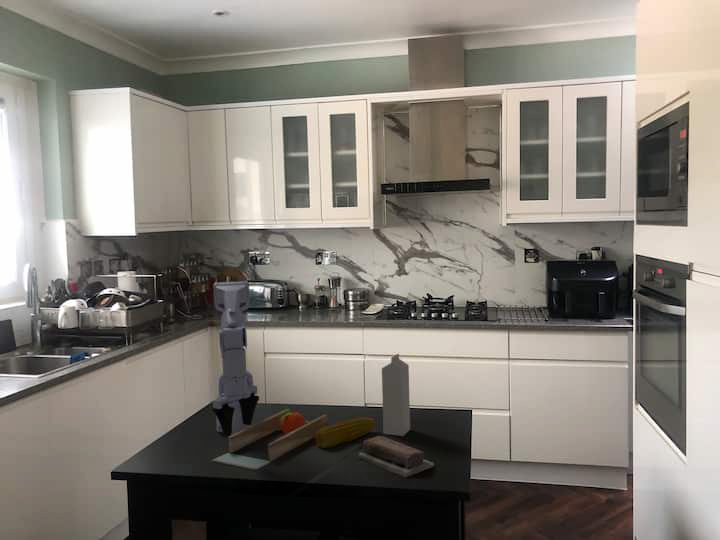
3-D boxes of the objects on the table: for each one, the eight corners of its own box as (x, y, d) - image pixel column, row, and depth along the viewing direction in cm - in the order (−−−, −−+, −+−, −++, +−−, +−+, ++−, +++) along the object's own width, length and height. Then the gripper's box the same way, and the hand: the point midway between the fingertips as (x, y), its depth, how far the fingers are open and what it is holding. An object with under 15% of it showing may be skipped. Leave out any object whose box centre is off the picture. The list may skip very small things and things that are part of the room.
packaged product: (355, 440, 164) (384, 431, 170) (356, 459, 164) (384, 449, 171) (405, 459, 150) (434, 448, 157) (406, 479, 151) (435, 468, 157)
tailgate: (227, 456, 168) (210, 463, 162) (227, 452, 168) (210, 460, 162) (271, 464, 161) (255, 473, 155) (271, 461, 161) (254, 469, 155)
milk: (410, 429, 184) (409, 353, 182) (403, 436, 179) (402, 358, 177) (390, 427, 187) (388, 352, 185) (382, 434, 181) (381, 356, 179)
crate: (228, 455, 168) (227, 436, 168) (287, 425, 191) (287, 408, 191) (272, 464, 161) (271, 444, 161) (327, 431, 184) (327, 414, 184)
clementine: (284, 443, 176) (283, 418, 175) (273, 436, 182) (272, 412, 181) (310, 437, 180) (309, 412, 180) (299, 430, 186) (298, 406, 185)
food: (327, 454, 168) (326, 432, 167) (312, 449, 171) (311, 427, 171) (380, 432, 183) (379, 412, 183) (365, 428, 187) (364, 408, 186)
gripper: (227, 384, 151) (230, 440, 152) (265, 370, 163) (268, 422, 165) (205, 381, 154) (208, 436, 155) (244, 367, 167) (246, 419, 168)
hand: (237, 429), depth 160 cm, fingers open, 7 cm apart
